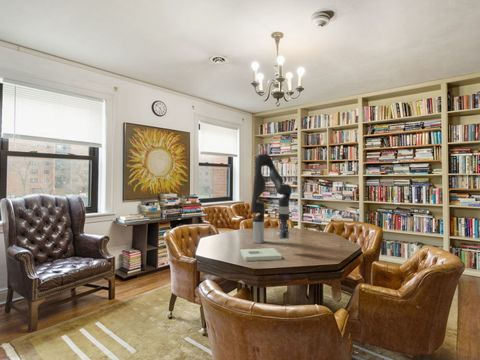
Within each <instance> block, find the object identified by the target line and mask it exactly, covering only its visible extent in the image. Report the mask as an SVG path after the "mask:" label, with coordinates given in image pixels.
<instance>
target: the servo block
mask: <svg viewBox="0 0 480 360" xmlns="http://www.w3.org/2000/svg"><path fill="white" fill-rule="evenodd" d="M291 234H292V233H291V232H290V231H289V230H288V232H286V238H283V231H281V230H279V231H278V232H276V235H278V238H279V239H280V240H285V239H287V240H288V239H290V235H291Z"/></svg>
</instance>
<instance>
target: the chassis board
mask: <svg viewBox="0 0 480 360" xmlns="http://www.w3.org/2000/svg"><path fill="white" fill-rule="evenodd" d="M240 254H241V256H242V258H243V260H244V261H245V262H250V261H251V262H252V261H254V262H256V261H273V260H274V261H276V260H279V261H280V260H282V259H283V255H282V254H281V253H280V252H278V250H276V248H272V247H269V248H243V249H240Z"/></svg>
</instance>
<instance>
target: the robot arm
mask: <svg viewBox="0 0 480 360" xmlns="http://www.w3.org/2000/svg"><path fill="white" fill-rule="evenodd" d="M266 166H267V167H268V169H269V179H270V180H271V182H272V183H273V184H274V188H275V191H276V193H278V195H281V196H282V197H280V198H279V199H278V209H277V210H278V220H280V221H279V230H280V231H283V238H286V232H288V231H289V224H288V221H289V220H290V199H291V195H292V188H291V185H290V184H283V183H284V179H283V177H282V176H281V175H280V173H279V172H278V170H277V169H276V166H275V164H274V162H273V160H272V157H271V156H270V155H269V154H268V153H260V154H257V155H256V156H255V158H254V179H253V180H254V181H253V190H252V191H253V193H252V199H251V205H250V211H251V212H250V213H252V214H258V215H257V216H255V217H253V219H252V243H254V244H264V243H265V202H263V201H258V200H259V198H260V196H261V195H262V194H263V193H264V191H265V189H266V184H267V183H266V179H265V176H264V175H263V173H262V167H266Z"/></svg>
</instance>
